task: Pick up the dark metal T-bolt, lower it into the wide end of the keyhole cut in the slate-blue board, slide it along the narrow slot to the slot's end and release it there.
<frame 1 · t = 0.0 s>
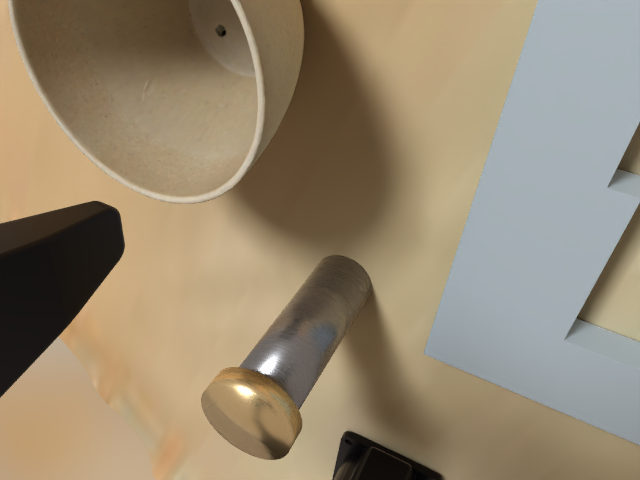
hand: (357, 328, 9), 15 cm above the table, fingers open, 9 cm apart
flower pot: (248, 9, 23), on the table
bolt: (343, 279, 29), on the table
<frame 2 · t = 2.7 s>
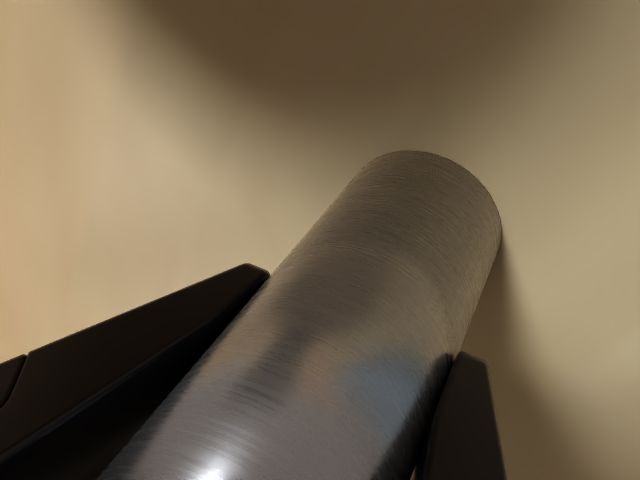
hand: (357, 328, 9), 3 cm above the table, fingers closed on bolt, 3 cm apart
bolt: (419, 223, 11), on the table, touching gripper
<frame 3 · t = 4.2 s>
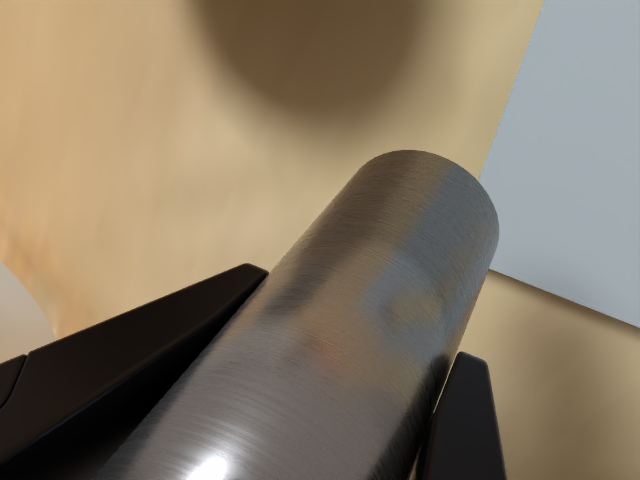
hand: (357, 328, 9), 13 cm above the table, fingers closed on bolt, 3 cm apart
bolt: (417, 223, 11), point 10 cm above the table, touching gripper
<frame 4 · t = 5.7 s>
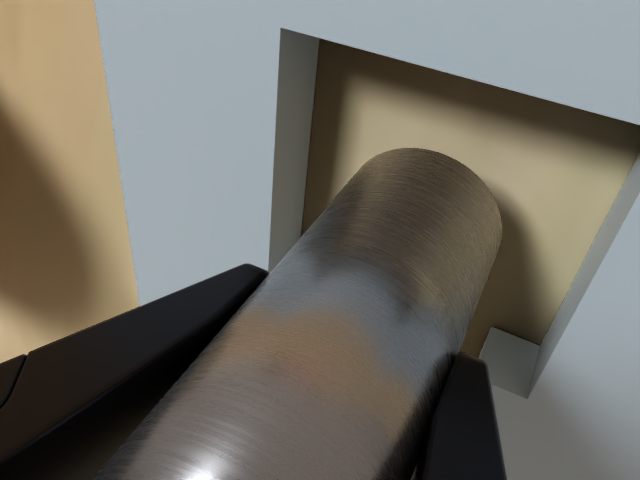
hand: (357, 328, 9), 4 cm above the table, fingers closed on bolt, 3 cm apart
keyhole board: (404, 324, 14), on the table
bolt: (419, 221, 11), point 1 cm above the table, touching gripper
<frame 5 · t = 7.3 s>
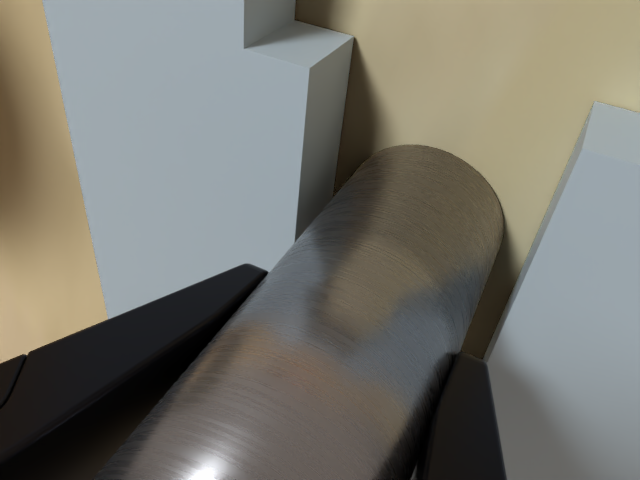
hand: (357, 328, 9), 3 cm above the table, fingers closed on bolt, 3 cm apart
keyhole board: (451, 124, 9), on the table
bolt: (420, 218, 11), resting in keyhole board, touching gripper
when the fingers open (3 cm above the table, at t = 8.8 s): bolt stays where it is, resting in keyhole board.
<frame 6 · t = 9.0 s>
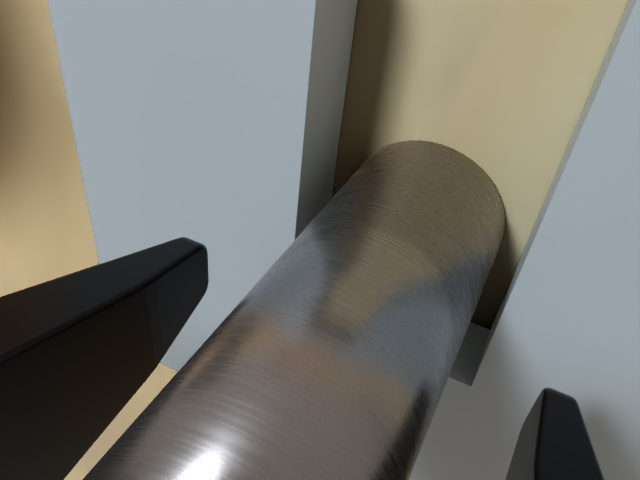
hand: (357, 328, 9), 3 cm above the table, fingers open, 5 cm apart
keyhole board: (479, 4, 8), on the table
bolt: (423, 214, 11), resting in keyhole board
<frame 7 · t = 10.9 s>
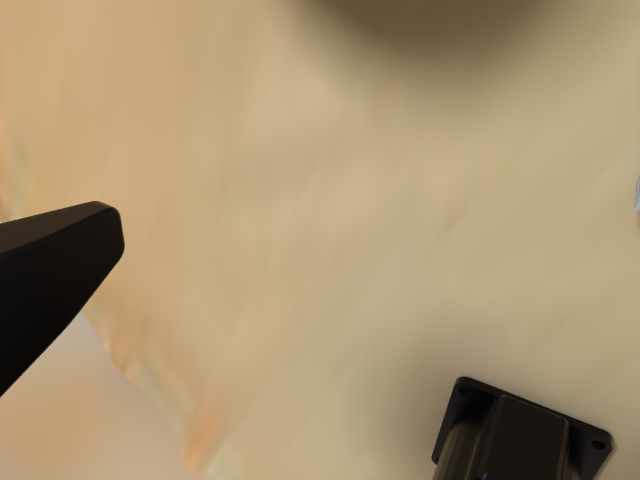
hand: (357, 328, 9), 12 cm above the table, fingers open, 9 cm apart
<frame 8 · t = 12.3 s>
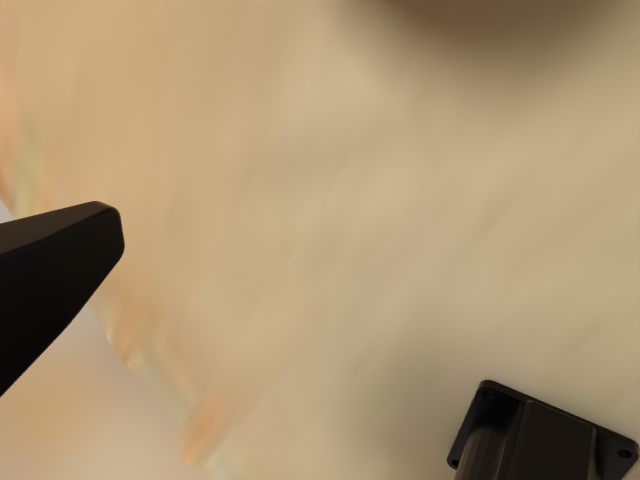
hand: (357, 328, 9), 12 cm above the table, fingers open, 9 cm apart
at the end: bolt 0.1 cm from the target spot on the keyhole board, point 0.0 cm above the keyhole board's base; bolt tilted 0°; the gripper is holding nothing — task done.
